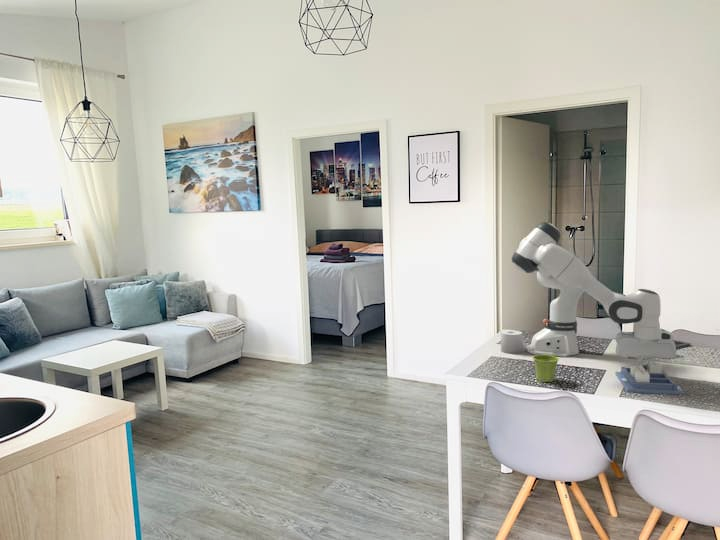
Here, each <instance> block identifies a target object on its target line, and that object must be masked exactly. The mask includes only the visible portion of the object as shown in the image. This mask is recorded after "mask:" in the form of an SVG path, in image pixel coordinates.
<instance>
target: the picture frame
mask: <svg viewBox="0 0 720 540" xmlns="http://www.w3.org/2000/svg"><path fill="white" fill-rule="evenodd" d="M673 341H674V342H675V346H676V350H677V349H682V348H687V347H690V346H691V342H685V341H681V340H675V339H673Z"/></svg>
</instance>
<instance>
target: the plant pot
mask: <svg viewBox="0 0 720 540" xmlns="http://www.w3.org/2000/svg"><path fill="white" fill-rule="evenodd" d="M532 360H533V363H534V368H535V376H536V380H537V381H539V382H542V383H547V382H549V383H551V382H554V379H555V374H556V367H557V364H558V362H559V356H551V355H539V354H534V355H533V356H532Z"/></svg>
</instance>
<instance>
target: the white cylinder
mask: <svg viewBox="0 0 720 540" xmlns="http://www.w3.org/2000/svg"><path fill="white" fill-rule="evenodd" d="M526 347H527V345H526V343H525V339H524V336H523V332H522V331H519V330H514V329H507V330H505V329H504V330H502V331H500V352H501V353H504V354H509V355H510V354H513V355H515V354H521V353H523V352H527V350H526Z"/></svg>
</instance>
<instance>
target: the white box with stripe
mask: <svg viewBox="0 0 720 540" xmlns="http://www.w3.org/2000/svg"><path fill="white" fill-rule="evenodd" d="M662 370H663V366H662V364H660V362H653V361H652V362H651V363H650V365H649V369H647V372H648V373H662Z"/></svg>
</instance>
